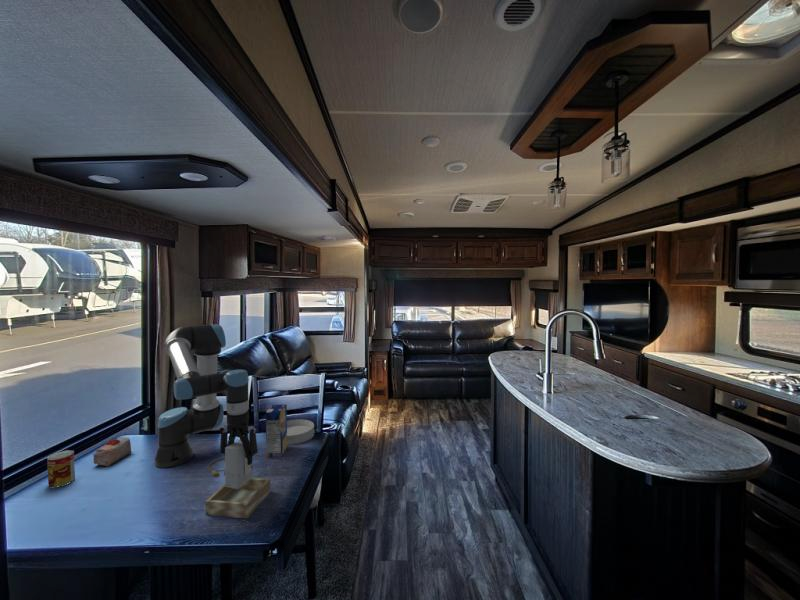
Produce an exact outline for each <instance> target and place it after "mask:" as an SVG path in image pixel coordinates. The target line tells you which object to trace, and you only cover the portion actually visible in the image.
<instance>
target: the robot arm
mask: <svg viewBox="0 0 800 600" xmlns="http://www.w3.org/2000/svg"><path fill="white" fill-rule="evenodd" d="M225 335H226V334H225V331H224V328H223V326H222V325H220V324H214V323H213V324H212V323H209V324H199V325H183V326H181V327H178V328H176V329H174V330H172V332H170V333H169V335H168V336H167V337H166V338H165V340H164V343H163V348H164V352H165V354H166V355H167V356H169V358H170V361H171V364H172V367H173V370H174V373H175V376H176V380H174V381H173V395H174V398H175V399H176V400H177V401H180V400H181V401H182V400H190V399H195V398H196V401H195V402H194V403H193V405H192V408H191V409H188V408H187V407H185V406H181V407H174V408H171V409H169V410H166V411H165V412H163V413H162V414H160V415H159V417H158V419H157V420H158V422H157V428H158V429H157V430H158V447H157V452H156V455H155V458H154V466H155V467H156V468H160V469H165V468H168V469H169V468H174V467H177V466H180V465H182V464H185V463H187V462H188V461H190V460H191V459H192V458H193V457H194V450H193V448H192V447H191V444H190V442H189V436H190V435H194V434H199V433H201V432H205V431H209V430H210V431H212V430H213V429H217V428H219V427H220V426H221V425H222V423H223V420H224V414H225V413H224V405H223V404H222V403H221V402H220V400H218V399H217V394H220V393H224V392H225V396H226V397H225V398H226V399H225V400H226V401H225V402H226V413H227V414H226V424H227V425H223V426H222V427H220V428H219V432H220V442H219V443H220V444H219V453H220V454H221V455H224V456H225V448H226V447H227V446H229V445H231V444H233V443H234V442H236V438H239V440H241V441H242V444H243V447H244V450H245V453H246V457H245V475H247V474H248V473H249V472H250V471H251V464H252V462H254V461H253V457H254V456H255V455H256V454H257V453H258V443H257V429H258V428H257V427H256V426H254V427H252V426H250V423H249V420H250V411H249V409H250V407H249V406H250V405H249V404H250V403H249V379H250V378H249V375H248V370H245V369H233V370H231V369H224V370H221V371H220V372H218V355H220V354H221V353H222V349H224V348H225V347H226V343H227V342H226V336H225ZM192 352H193V354H194V356H196V359H194V356H193V354H192ZM195 360H196V361H195ZM228 432H229V435H228ZM249 440H250V442H249Z"/></svg>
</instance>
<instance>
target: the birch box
mask: <svg viewBox="0 0 800 600" xmlns="http://www.w3.org/2000/svg"><path fill="white" fill-rule="evenodd" d="M270 493H271V478H270V479H269V478H257V477H253V478H252V479H251V480H249V481H248V482H246V483H245V484H244V485H242V486H241V487H240V488H239V489H233V488H230V487H226V486H225V483H224V484H223V485H222V486H221V487H219V489H218V490H216V491H215V492H214V493H213V494H211V496H210V497H209V498H208V499H206V500H205V515H206V516H215V517H224V518H225V517H226V518H238V519H248V518H249V517H250V516H251V515H252V514H253V513H254V512H255V510H256V509H257V508H258V507H259V506H260V504H261V503H262V502H263V501H264V499H266V498H267V496H268V495H269V494H270Z"/></svg>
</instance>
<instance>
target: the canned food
mask: <svg viewBox="0 0 800 600" xmlns="http://www.w3.org/2000/svg"><path fill="white" fill-rule="evenodd" d="M46 460H47V461H46V462H47V480H48V481H47V482H48V484H47V486H48V485H49V486H48V488H49V487H57V486H62V485H65V484H67V483H69V482H71V481H73V480H74V479H75V480H76V469H75V451H74V450H71V449H70V450H69V449H67V450H63V451H62V450H61V451H58V452H56V453H53V454H50V455H49V456H47V459H46ZM75 480H74V481H75ZM74 481H73V482H74Z"/></svg>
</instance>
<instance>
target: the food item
mask: <svg viewBox="0 0 800 600" xmlns="http://www.w3.org/2000/svg"><path fill="white" fill-rule="evenodd" d="M105 444H106V445H103V446H100V447H99V448H98V449H97V450H96V451H95V453H93V455H92V456H93V464H95V465H98V466H105V467H110V466H111V465H113V464H114V463H115V462H118V461H120V460H122V459H123V458H125V457H126V456H127V455H129V454H131V453H132V444H131V439H130V438H129V437H126V436H125V437H119V438H117V439H116V438H114V439H112V440H110V439H107V441H106V443H105Z"/></svg>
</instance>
